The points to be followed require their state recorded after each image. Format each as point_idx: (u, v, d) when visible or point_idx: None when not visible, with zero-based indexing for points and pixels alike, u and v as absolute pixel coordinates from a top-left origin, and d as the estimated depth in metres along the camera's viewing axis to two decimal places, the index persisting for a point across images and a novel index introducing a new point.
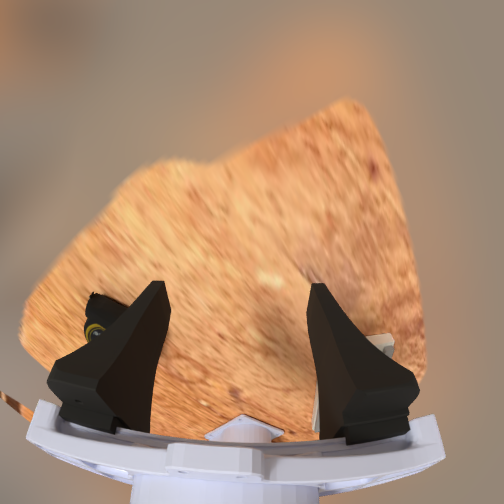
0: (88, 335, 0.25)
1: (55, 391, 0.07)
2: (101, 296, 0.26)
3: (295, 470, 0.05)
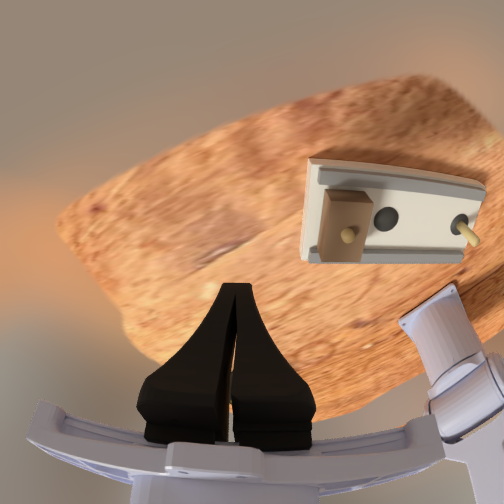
0: None
1: (145, 412, 0.07)
2: None
3: (295, 470, 0.05)
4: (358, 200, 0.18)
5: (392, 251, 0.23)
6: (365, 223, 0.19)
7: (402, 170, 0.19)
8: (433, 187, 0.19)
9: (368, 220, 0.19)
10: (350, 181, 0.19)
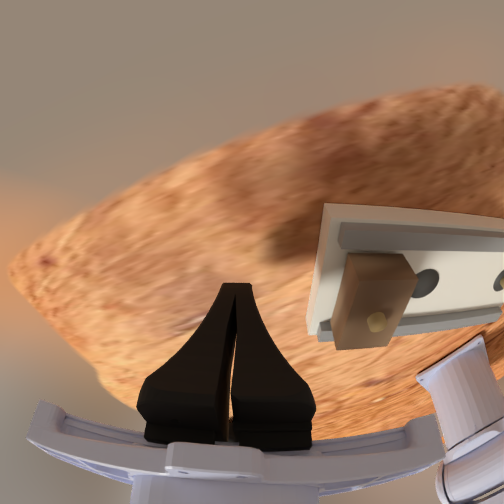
0: None
1: (145, 412, 0.07)
2: None
3: (295, 470, 0.05)
4: (397, 275, 0.12)
5: (424, 319, 0.16)
6: (402, 304, 0.12)
7: (451, 219, 0.13)
8: (487, 243, 0.12)
9: (407, 300, 0.12)
10: (386, 243, 0.12)
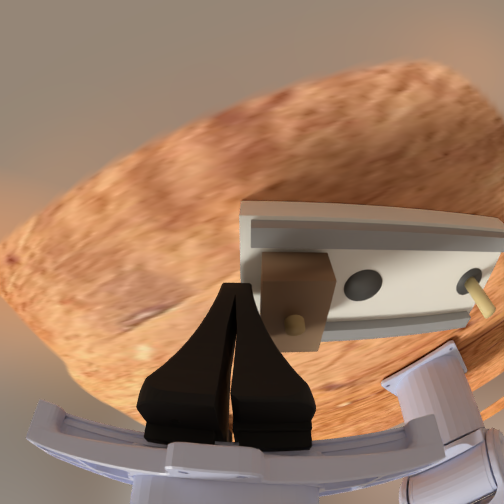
0: None
1: (145, 412, 0.07)
2: None
3: (295, 470, 0.05)
4: (311, 276, 0.12)
5: (371, 323, 0.16)
6: (323, 307, 0.12)
7: (391, 214, 0.13)
8: (438, 241, 0.12)
9: (327, 303, 0.12)
10: (302, 241, 0.12)
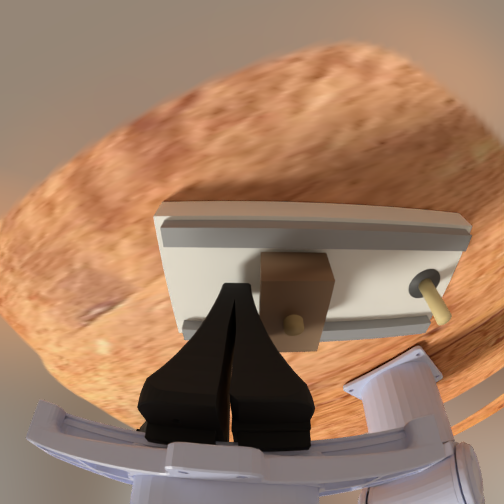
0: None
1: (146, 412, 0.07)
2: (142, 426, 0.30)
3: (295, 470, 0.05)
4: (309, 276, 0.12)
5: None
6: (321, 307, 0.12)
7: (315, 211, 0.13)
8: (370, 238, 0.12)
9: (326, 303, 0.12)
10: (210, 240, 0.13)
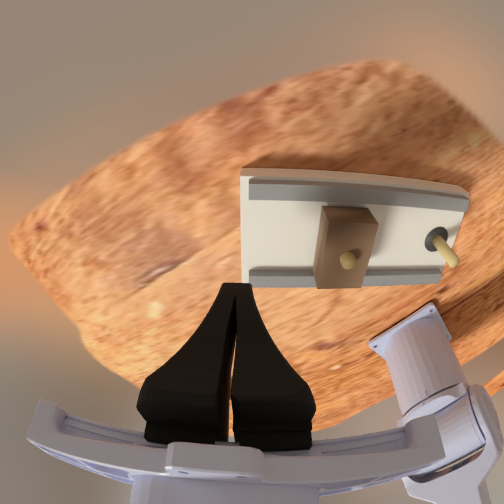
0: None
1: (145, 412, 0.07)
2: None
3: (295, 470, 0.05)
4: (360, 220, 0.16)
5: None
6: (368, 246, 0.16)
7: (359, 177, 0.17)
8: (398, 197, 0.16)
9: (371, 242, 0.16)
10: (287, 194, 0.16)
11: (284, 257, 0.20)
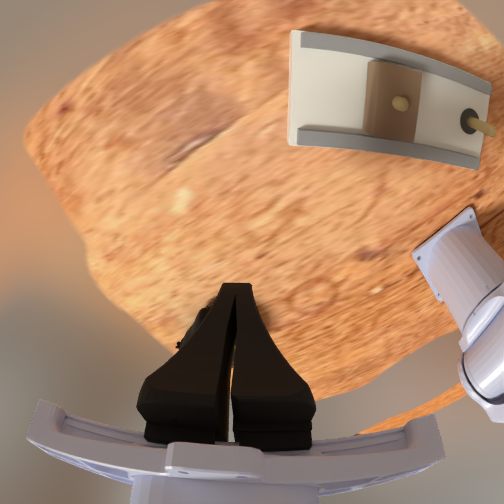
0: None
1: (145, 412, 0.07)
2: (184, 336, 0.31)
3: (295, 470, 0.05)
4: (406, 68, 0.13)
5: (398, 140, 0.18)
6: (416, 94, 0.14)
7: None
8: (432, 65, 0.14)
9: (418, 91, 0.14)
10: (337, 45, 0.14)
11: (333, 115, 0.17)
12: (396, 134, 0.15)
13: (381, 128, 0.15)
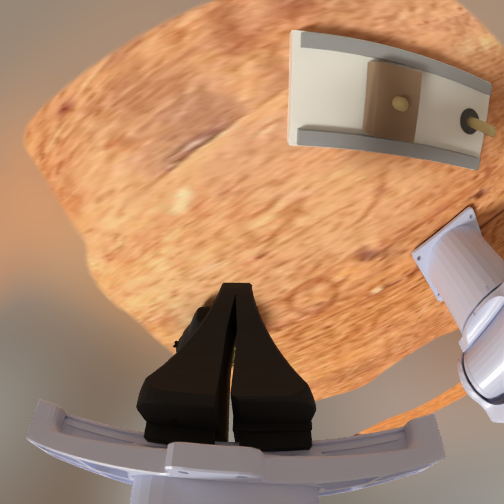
0: None
1: (145, 412, 0.07)
2: (182, 336, 0.31)
3: (295, 470, 0.05)
4: (406, 68, 0.13)
5: (398, 140, 0.18)
6: (416, 94, 0.14)
7: None
8: (432, 65, 0.14)
9: (418, 91, 0.14)
10: (337, 45, 0.14)
11: (333, 115, 0.17)
12: (396, 134, 0.15)
13: (381, 128, 0.15)
